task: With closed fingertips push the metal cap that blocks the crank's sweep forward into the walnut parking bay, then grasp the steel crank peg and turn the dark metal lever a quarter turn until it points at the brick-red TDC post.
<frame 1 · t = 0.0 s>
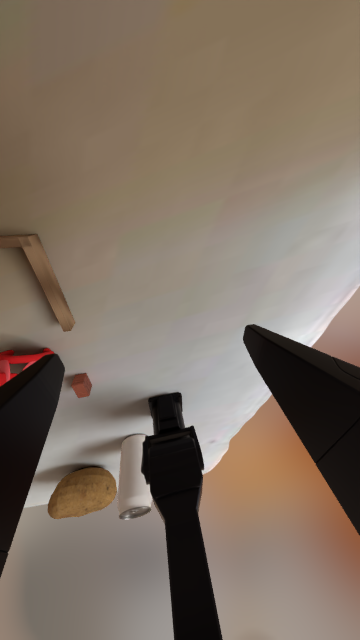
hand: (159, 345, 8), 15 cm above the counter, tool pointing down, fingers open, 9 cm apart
potato: (90, 467, 44), on the counter
cap: (36, 356, 25), on the counter
can: (136, 439, 41), on the counter
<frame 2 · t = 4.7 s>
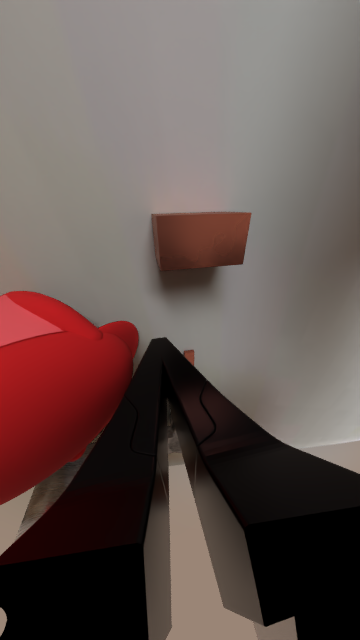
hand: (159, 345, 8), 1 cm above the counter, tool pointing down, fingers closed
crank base: (188, 412, 15), on the counter
cap: (64, 337, 9), on the counter, touching gripper
crank: (138, 487, 11), point 4 cm above the counter, hinge at 0.0°
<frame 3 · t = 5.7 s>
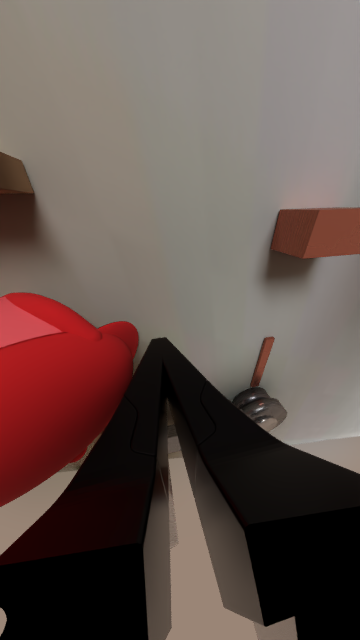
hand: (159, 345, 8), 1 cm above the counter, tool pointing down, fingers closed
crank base: (249, 399, 16), on the counter
cap: (65, 338, 9), on the counter, touching gripper
crank: (222, 464, 12), point 4 cm above the counter, hinge at 0.0°
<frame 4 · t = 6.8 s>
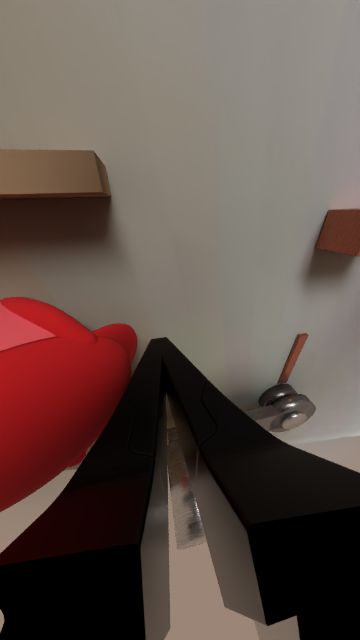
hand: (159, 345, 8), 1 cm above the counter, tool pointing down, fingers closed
bay: (30, 349, 9), on the counter
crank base: (275, 395, 16), on the counter
cap: (63, 342, 9), on the counter, touching gripper
crank: (258, 457, 12), point 4 cm above the counter, hinge at 0.0°
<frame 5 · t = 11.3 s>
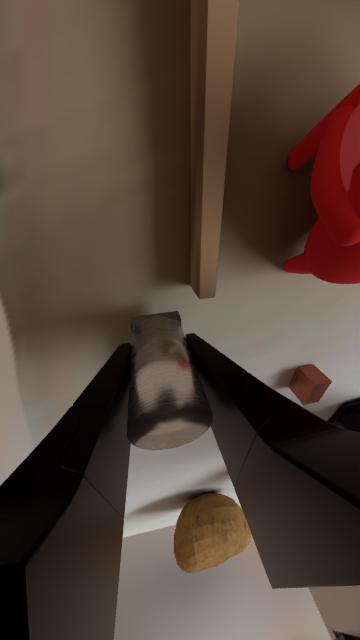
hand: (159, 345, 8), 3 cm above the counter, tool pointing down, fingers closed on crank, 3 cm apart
potato: (204, 493, 34), on the counter
bay: (331, 165, 8), on the counter
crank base: (166, 403, 15), on the counter
cap: (315, 200, 9), on the counter
crank: (169, 423, 10), point 4 cm above the counter, hinge at 0.0°, touching gripper
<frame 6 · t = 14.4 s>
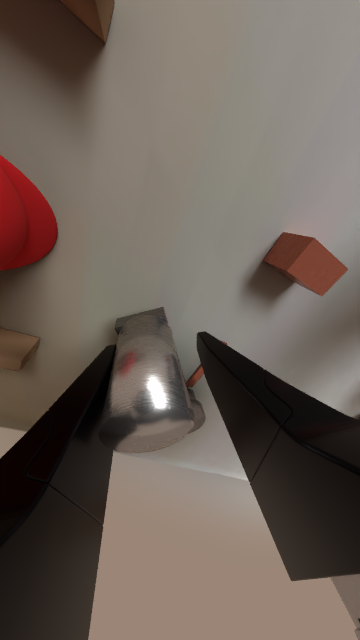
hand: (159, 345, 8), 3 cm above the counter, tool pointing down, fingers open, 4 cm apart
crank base: (176, 398, 15), on the counter
crank: (172, 421, 10), point 4 cm above the counter, hinge at -49.0°, touching gripper
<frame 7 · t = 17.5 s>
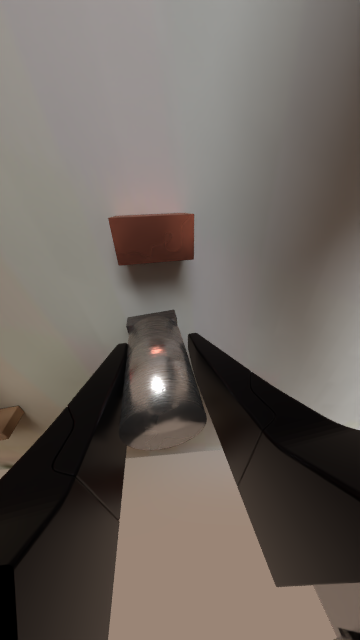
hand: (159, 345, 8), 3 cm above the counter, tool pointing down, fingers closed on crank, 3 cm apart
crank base: (170, 401, 16), on the counter
crank: (171, 422, 10), point 4 cm above the counter, hinge at -86.8°, touching gripper
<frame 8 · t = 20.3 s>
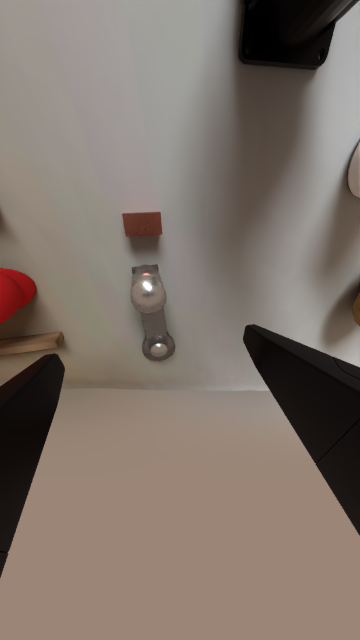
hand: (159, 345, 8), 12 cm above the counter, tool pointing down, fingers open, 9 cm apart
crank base: (157, 338, 23), on the counter
crank: (155, 330, 18), point 4 cm above the counter, hinge at -88.1°
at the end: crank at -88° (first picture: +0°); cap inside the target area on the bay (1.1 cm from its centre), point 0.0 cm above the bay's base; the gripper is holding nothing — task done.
